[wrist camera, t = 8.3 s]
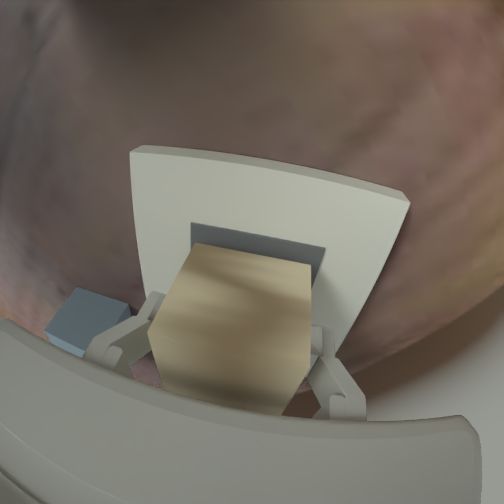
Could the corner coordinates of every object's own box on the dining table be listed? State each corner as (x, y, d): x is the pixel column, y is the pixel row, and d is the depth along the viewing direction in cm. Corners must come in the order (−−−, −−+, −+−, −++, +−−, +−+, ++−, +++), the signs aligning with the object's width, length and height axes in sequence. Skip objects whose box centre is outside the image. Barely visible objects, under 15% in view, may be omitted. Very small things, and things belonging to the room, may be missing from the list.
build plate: (159, 317, 19) (152, 330, 18) (142, 144, 12) (128, 152, 11) (327, 351, 18) (327, 367, 17) (401, 191, 11) (411, 203, 10)
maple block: (196, 317, 15) (166, 396, 11) (195, 242, 12) (147, 332, 8) (286, 336, 15) (276, 421, 11) (311, 264, 12) (309, 367, 8)
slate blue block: (92, 325, 22) (67, 367, 18) (77, 285, 19) (43, 330, 15) (139, 342, 22) (116, 389, 18) (128, 303, 19) (97, 356, 15)
